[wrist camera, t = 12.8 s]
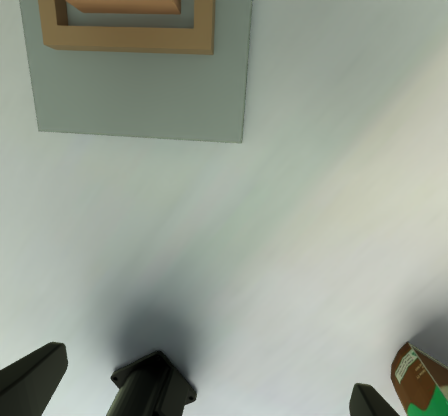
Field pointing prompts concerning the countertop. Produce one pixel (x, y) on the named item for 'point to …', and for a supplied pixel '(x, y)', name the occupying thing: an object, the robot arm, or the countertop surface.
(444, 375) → the food container
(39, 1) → the base slab
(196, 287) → the countertop surface
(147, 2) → the terracotta block
